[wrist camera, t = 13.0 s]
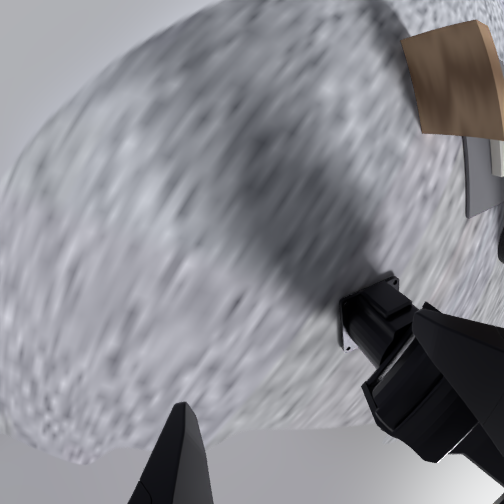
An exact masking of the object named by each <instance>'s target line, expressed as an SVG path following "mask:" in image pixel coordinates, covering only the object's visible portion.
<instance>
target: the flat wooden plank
mask: <svg viewBox="0 0 504 504" xmlns="http://www.w3.org/2000/svg"><path fill="white" fill-rule="evenodd" d="M400 41H401V44H402V47H403V50H404V54H405V57H406V60H407V64H408V68H409V71H410V75H411V79H412V83H413V88H414V92H415V97H416V101H417V106H418V112H419V117H420V123H421V129H422V133H424V134H443V135H456V136H467V137H477V138H485V139H493V140H500V141H504V77H503V73H502V69H501V65H500V62H499V58H498V55H497V51H496V48H495V45H494V42H493V39H492V36H491V33H490V30H489V28H488V26H487V25H485V24H483V23H481V22H479V21H478V20H472V21H467V22H462V23H458V24H454V25H450V26H446V27H442V28H438V29H435V30H431V31H428V32H425V33H421V34H418V35H415V36H412V37H409V38H406V39H403V40H400Z"/></svg>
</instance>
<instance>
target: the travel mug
mask: <svg viewBox="0 0 504 504" xmlns="http://www.w3.org/2000/svg"><path fill="white" fill-rule="evenodd" d="M498 257H499V260H500V261H501V262H502V263H504V229H503V231H502V234H501V238H500V242H499V248H498Z"/></svg>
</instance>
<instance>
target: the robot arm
mask: <svg viewBox="0 0 504 504" xmlns="http://www.w3.org/2000/svg"><path fill="white" fill-rule="evenodd" d="M345 302H346V304H344V303H345ZM339 307H340V320H341V335H342V349H343V351H344V352H345V353H347V352H350V351H352V350H354V349H356V348H360V350H361V351H362V352H363V353H364V354H365V356H366V357H367V358H368V359H369V360H370V362H371V363H372V364H373V365H374V366H375V368H376V369H377V370H376V371H375V372H374V373H373V375H372V376H371V377H370V378H369V379H368V380H367V381H365V382H364V383H363V385H362V386H361V387H362V390H363V392H364V395H365V397H366V400H367V402H368V405H369V407H370V410H371V412H372V415H373V417H374V420H375V422H376V424H377V426H379V427H380V428H381V430H382V431H385V432H386V433H387V434H389V435H390V436H392V437H394V438H398V439H399V440H401V441H403V442H404V443H405V444H407V445H408V446H409V447H411V448H412V449H413V450H414V451H415V452H416V453H417V454H418V455H419V456H420V457H421V458H422V459H423V460H425V461H428V462H432V463H438V462H439V461H440V460H441V459H442V458H444V457H445V456H446V455H447V454H463V455H464V456H466V457H467V458H468V459H469V460H470V461H472V462H473V463H474V464H476V465H477V466H478V467H479V468H480V469H482V470H483V471H484V472H485V473H487V474H488V475H489V476H490V477H492V478H493V479H494V480H495V481H496V482H498V483H499V484H500V485H502V486H503V487H504V328H501V327H495V326H493V325H488V324H484V323H480V322H476V321H472V320H468V319H463V318H459V317H455V316H451V315H447V314H443V313H441V312H440V311H439V310H437V309H436V308H435V307H433V306H432V305H430V304H429V303H428V302H425V303H424V305H423V306H422V307H423V308H422V309H420V310H419V309H418V308H416V307H415V306H414V305H413V304H412V301H411V300H410V299H408V298H407V297H406V296H404V295H403V294H402V293H400V292H399V279H398V278H397V277H396V276H393V277H390V278H388V279H386V280H384V281H381V282H379V283H377V284H375V285H372V286H370V287H368V288H365V289H363V290H361V291H358V292H356V293H353V294H351V295H349V296H346V297H344V298H342V299H341V300H340V302H339ZM347 347H348V348H347ZM128 504H214V503H213V497H212V491H211V485H210V478H209V472H208V466H207V458H206V453H205V449H204V445H203V441H202V437H201V433H200V429H199V425H198V421H197V417H196V415H195V413H194V412H193V410H192V409H191V408H190V406H189V405H188V403H187V402H180V403H176V404H175V405H174V406H173V408H172V411H171V413H170V415H169V417H168V419H167V421H166V423H165V426H164V428H163V430H162V432H161V434H160V436H159V438H158V441H157V443H156V445H155V447H154V449H153V451H152V454H151V456H150V458H149V460H148V462H147V464H146V467H145V469H144V471H143V473H142V475H141V478H140V481H138V484H137V486H136V488H135V490H134V492H133V494H132V496H131V498H130V500H129V502H128ZM493 504H504V493H503V494H502V496H500V498H498V499H497V500H496V501H495V502H494V503H493Z"/></svg>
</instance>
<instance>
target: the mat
mask: <svg viewBox="0 0 504 504" xmlns="http://www.w3.org/2000/svg"><path fill="white" fill-rule="evenodd" d="M499 62H500V65H501V69H502V73H503V77H504V63H503V61H501V60H499ZM463 141H464V152H465V165H466V191H467V206H466V217H467V218H472V217H474V216H476V215H478V214H480V213H482V212H484V211H486V210H488V209H490V208H492V207H495V206H497V205H499V204H501V203H503V202H504V176H503V177H499V176H495V175H492V159H491V145H490V139H485V138H477V137H467V136H463Z"/></svg>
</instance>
